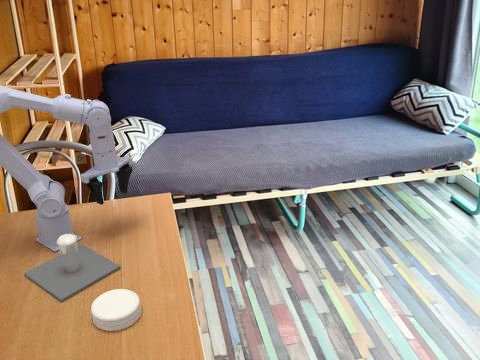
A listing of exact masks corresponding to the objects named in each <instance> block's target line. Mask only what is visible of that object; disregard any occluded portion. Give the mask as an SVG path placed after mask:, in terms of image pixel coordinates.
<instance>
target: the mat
mask: <svg viewBox="0 0 480 360" xmlns="http://www.w3.org/2000/svg"><path fill="white" fill-rule="evenodd" d="M78 256H79V265H80V268H79V270H78V271H76V272H73V273H68V272H66V270H65V267H64V264H63V260H62V257H61V254H59V255H56V256H55V257H53V258H51V259H49V260H47V261H45V262H43V263H41V264H40V265H37V266H35V267H33V268H31V269H29V270H27V271H25V272H24V273H23V274H24V277H26V278H27V279H28V280H29V281H31V282H33V283H34V284H35V285H37V286H38V287H39V288H41V289H42V290H44V291H45V292H46V293H48V294H50V295H51V296H52V297H54V298H55V299H56V300H57V301H59V302H61V303H64V302H65V301H67V300H69V299H70V298H72V297H74V296H76V295H78V294H80V293H81V292H83V291H84V290H86V289H88V288H90V287H91V286H93V285H95V284H97V283H98V282H100V281H102V280H104V279H105V278H108V277H109V276H111V275H112V274H114V273H116V272H118V271H119V270H121V269H122V267H121V265H119V264H118V263H116V262H115V261H113V260H111V259H109V258H107V257H105V256H104V255H102V254H100V253H99V252H97V251H95V250H93V249H92V248H90V247H88V246H86V245H85V244H82V243H81V244H78Z"/></svg>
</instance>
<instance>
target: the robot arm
mask: <svg viewBox="0 0 480 360" xmlns="http://www.w3.org/2000/svg"><path fill="white" fill-rule="evenodd" d="M71 96H72V95H71V94H68V93H65V94H64V95H60V94H59V95H57V96H56V97H54V98H50V97H46V96H42V95H38V94H35V93H32V92H31V93H30V92H27V91H24V90H23V91H22V90H19V89H15V88H11V87H7V86H4V85H1V84H0V114H2V113H5V112H7V111H8V110H11V109H14V108H17V109H23V110H29V111H30V110H31V111H37V112H43V113H50V114H51V115H52V116H53V118H54V119H56V120H58V121H59V120H60V121H65V122H71V123H75V124H80V125H87V127H88V130H89V133H88V135H89V141H90V147H91V152H92V157H93V162H94V166H93V167H91V168H89V169H88V170H86V171H85V172H83V173H81V174H80V180H81V182H82V183H84V184H85V186H86V187H87V188H88V189H89V190H90V193H92V195H93V198H94V199H95V202H96V203H97V204H98V205H100V206H102V205H104V195H103V183H104V182H102V181H101V180H99V179H98V178H101V177H102V176H105V175H107V174H110V173H113V174H115V176H116V178H117V181H118V188H119V192H121V193H123V194H127V193H128V188H129V181H130V178H131V175H132V172H133V166H131V165H133V158H132V157H131V156H128V155H126V156H122V157H118V155H117V149H116V143H115V137H114V132H113V130H112V123H111V122H112V117H111V114H110V108H109V107H108V105H107V104H106V103H104V102H103V101H101V100H99V99H94V100H91V99H88V98H87V99H86V100H85V99H80V98H75V97H71ZM0 166H1V168H3V169H4V171H6V172H7V174H9V175H10V176H12V177H11V178H14V180H16V182H18V183H19V184H20V185H21V186H22V187H23V188H24V189H25V190H26V191H27V193H28V196H29V197H30V200H31V202H33V203H34V204H35V206H36V209H37V210H36V211H35V215H34V220H35V225H36V231H37V233H38V237H36V238H35V241H36V242H38V243H39V244H41V245H43V246H44V247H46V248H47V249H49V250H51V251H53V252H58V251H59V248H58V245H57V240H58V238H59V237H60V236H61V235H64V234H73V235H75V236H76V237H77V235H78V234H76V233H74V229H73V224H72V219H71V212H70V209H69V205H68V204H66V202H65V194H66V189H65V187H64V186H63V184H61V182H58V181H55V180H53V179H52V178H50V176H48V175H46V174H42V173H41V172H40V171H39V170H38V169H37V167H35V166H34V165H33V164H32V163H31V162H30V161H29V160H28V159H27V158H26V157H25V156H24V155H23V154H22V153H21V152H20V151H19V150H18V149H17V148H16V147H15V146H14V145H13V144H12V143H11V142H10V141H9V140H8V139H6V138H5V136H4V135H2V134H1V133H0ZM81 240H82V237H81V236H79V235H78V237H77V242H79V241H81Z"/></svg>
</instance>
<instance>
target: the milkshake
mask: <svg viewBox="0 0 480 360" xmlns="http://www.w3.org/2000/svg"><path fill="white" fill-rule="evenodd" d="M76 235H77V237H78V236H79V232H78V233H77V234H76ZM77 237H76V236H75V235H73V234H64V235H61V236H60V237H59V238H58V240H57V245H58V248H59V250H58V251H59V255H61V257H62V260H63V264H64V267H65V270H66V272H68V273H73V272H76V271H78V270H79V268H80V265H79V256H78V246H79V243H78V241H77Z"/></svg>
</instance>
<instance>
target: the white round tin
mask: <svg viewBox="0 0 480 360" xmlns="http://www.w3.org/2000/svg"><path fill="white" fill-rule="evenodd" d="M90 313H91V317H92V321H93V324H94V326H95V327H97V328H98V329H99V330H102V331H106V332H117V331H123V330H124V329H127V328H129V327H131V326H132V325H133V324H135V323H136V322H137V321H138V320H139V318H140V317H141V314H142V306H141V299H140V297H139V295H138V294H137V293H136V292H135V291H133V290H129V289H125V288H117V289H111V290H109V291H105V292H103V293H102V294H100V295H99V296H97V297H96V298H95V299H94V301H93V302H92V303H91V307H90Z"/></svg>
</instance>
